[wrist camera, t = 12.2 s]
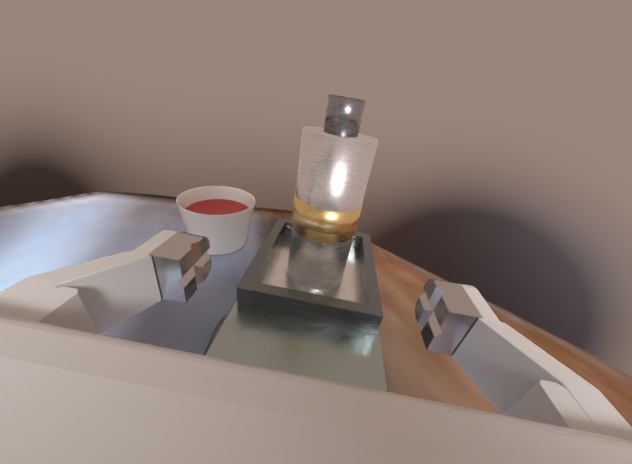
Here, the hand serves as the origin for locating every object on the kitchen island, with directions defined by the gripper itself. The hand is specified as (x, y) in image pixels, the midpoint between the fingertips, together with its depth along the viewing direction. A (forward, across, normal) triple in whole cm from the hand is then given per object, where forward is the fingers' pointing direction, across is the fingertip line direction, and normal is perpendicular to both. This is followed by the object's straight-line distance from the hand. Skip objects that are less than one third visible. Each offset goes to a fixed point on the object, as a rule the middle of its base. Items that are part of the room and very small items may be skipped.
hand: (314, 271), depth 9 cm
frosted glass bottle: (+9, 0, +7) cm, 12 cm away
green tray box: (+7, 0, +13) cm, 15 cm away
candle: (+19, +14, +14) cm, 27 cm away
